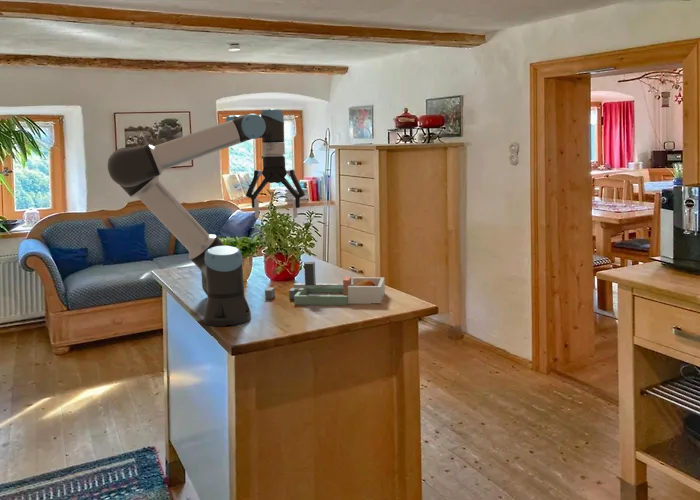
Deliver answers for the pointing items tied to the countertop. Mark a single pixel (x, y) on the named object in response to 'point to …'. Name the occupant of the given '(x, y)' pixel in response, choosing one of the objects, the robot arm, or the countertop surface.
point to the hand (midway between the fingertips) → (276, 217)
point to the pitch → (311, 296)
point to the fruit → (365, 283)
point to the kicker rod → (311, 283)
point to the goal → (366, 291)
